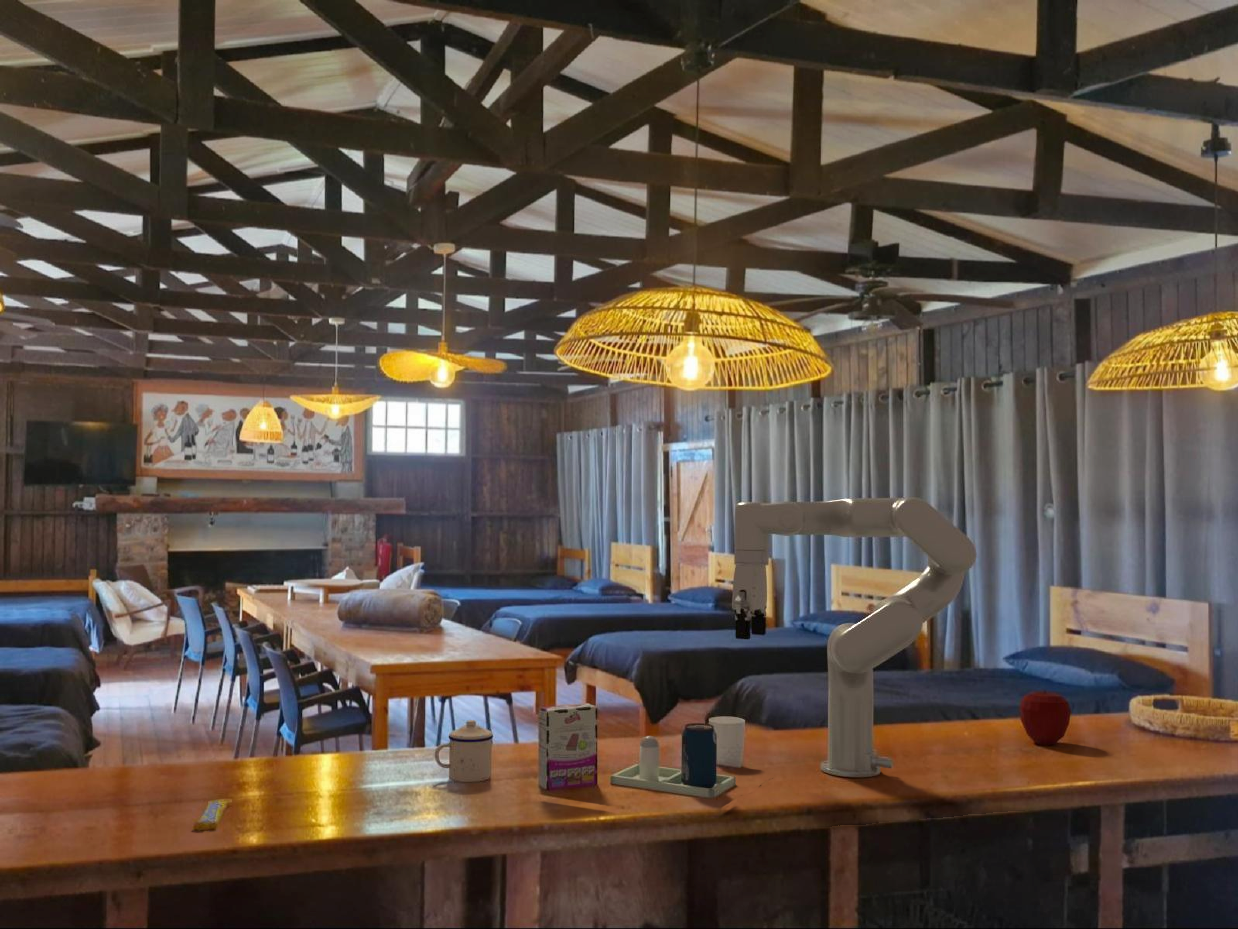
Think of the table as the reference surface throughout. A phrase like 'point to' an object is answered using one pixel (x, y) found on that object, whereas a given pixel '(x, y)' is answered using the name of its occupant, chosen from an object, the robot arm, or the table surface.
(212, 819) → the candy bar
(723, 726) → the white cup
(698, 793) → the caddy
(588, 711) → the candy bar box
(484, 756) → the teacup with lid
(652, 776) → the shaker
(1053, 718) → the apple
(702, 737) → the soda can
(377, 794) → the table surface
